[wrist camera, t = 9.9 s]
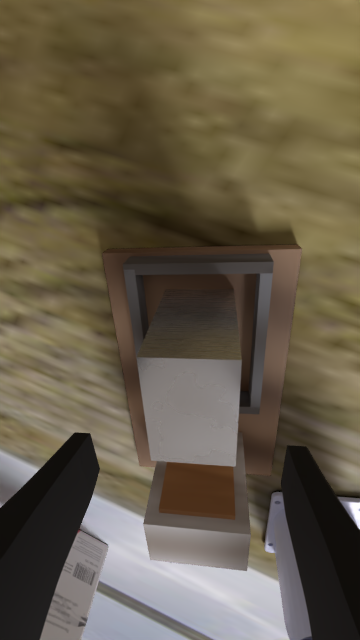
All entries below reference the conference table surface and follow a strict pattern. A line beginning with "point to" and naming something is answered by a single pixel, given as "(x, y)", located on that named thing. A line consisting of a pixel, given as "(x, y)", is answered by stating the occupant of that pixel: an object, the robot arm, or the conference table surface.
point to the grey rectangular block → (192, 377)
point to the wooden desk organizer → (255, 388)
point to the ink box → (75, 589)
